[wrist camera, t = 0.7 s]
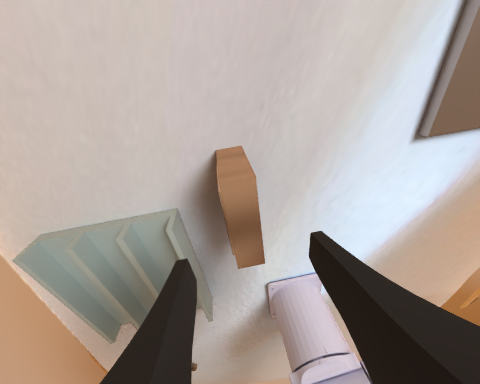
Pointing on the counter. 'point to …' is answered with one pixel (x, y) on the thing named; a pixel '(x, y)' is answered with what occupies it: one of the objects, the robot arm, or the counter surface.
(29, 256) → the notched rack
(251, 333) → the counter surface
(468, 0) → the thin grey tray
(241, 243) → the tan wooden slab
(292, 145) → the counter surface
